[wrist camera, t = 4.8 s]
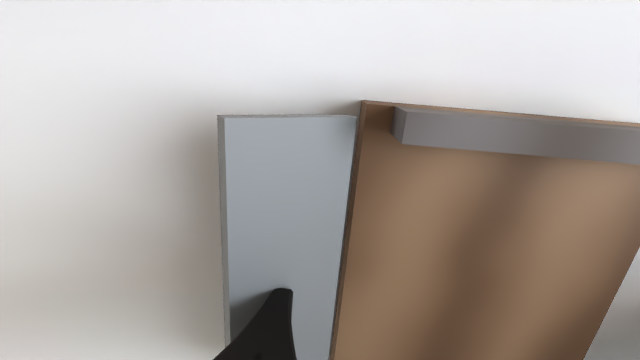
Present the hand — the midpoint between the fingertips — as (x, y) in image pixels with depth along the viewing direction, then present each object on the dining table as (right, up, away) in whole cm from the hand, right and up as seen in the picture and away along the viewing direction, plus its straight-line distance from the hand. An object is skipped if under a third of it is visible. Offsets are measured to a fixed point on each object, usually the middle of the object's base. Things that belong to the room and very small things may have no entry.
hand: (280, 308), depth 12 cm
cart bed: (+9, 0, +3) cm, 9 cm away
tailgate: (+2, 0, +2) cm, 3 cm away
